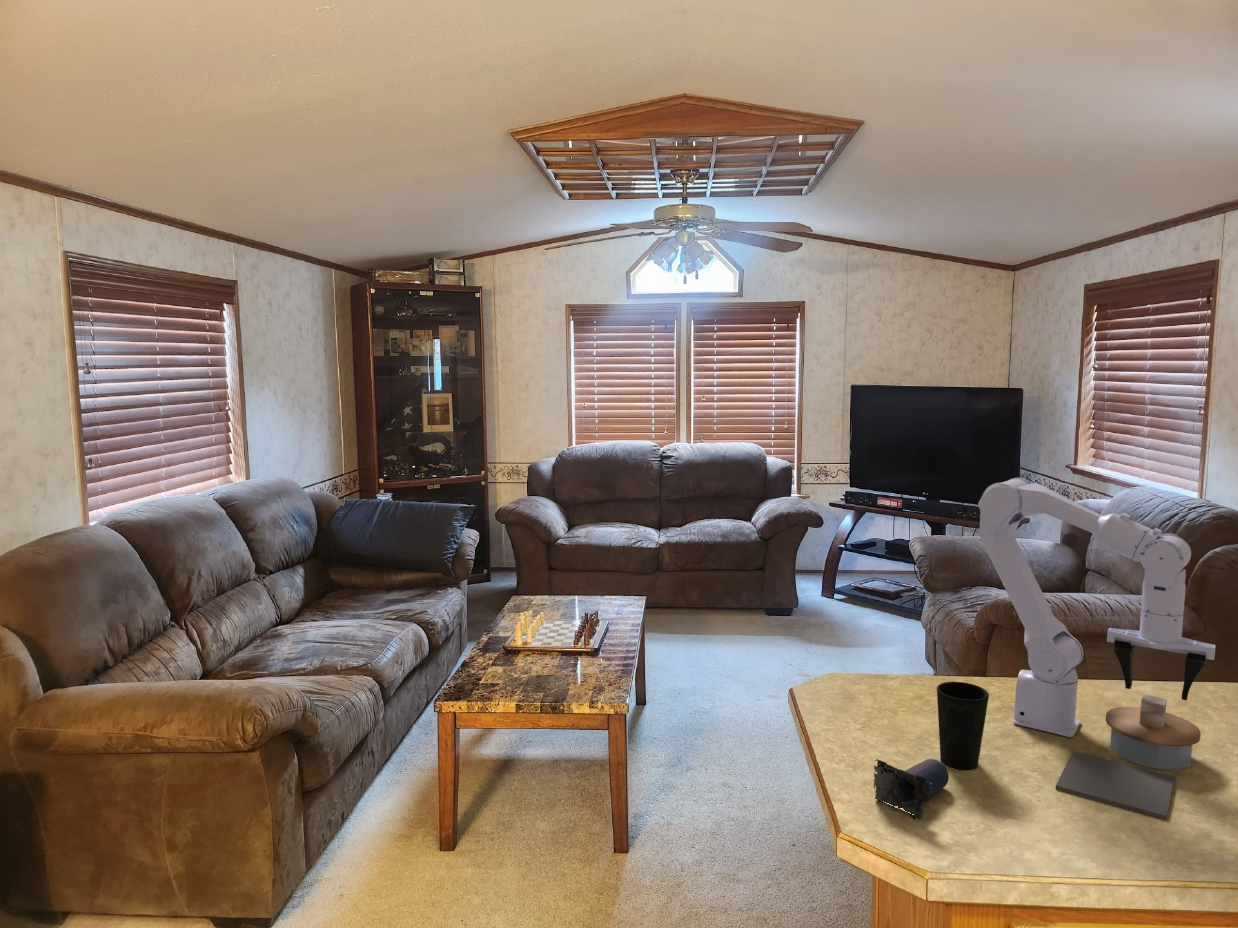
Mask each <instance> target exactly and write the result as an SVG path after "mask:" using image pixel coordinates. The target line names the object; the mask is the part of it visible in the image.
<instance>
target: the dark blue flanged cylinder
mask: <svg viewBox="0 0 1238 928" xmlns="http://www.w3.org/2000/svg"><path fill="white" fill-rule="evenodd" d="M876 761H877V764H876V765H874V766H873V770H874V773H873V786H874V787H873V786H872V787H873V789H875V791H874V793H875V795H874V796H875V797H874V799H875V800H876V799H877V800H878V801H879V800H880V802H881V801H884V802H886V803H889V804H891V805H893V806H892V807H891V809H892V808H893V809H895V810H896V811H897V808H895V807H894V806H898V808H903V809H904V810H905V811H907V812H910V813H911V814H910V813H907V815H908V814H909V815H910V816H911V817H913V819H914V820H915V819H918V820H919V819H920V818H921V819H920V820H922V819H923V816H924V808H926V804H927V803H929V802H930V800H931V796H932V795H933V794H935V793H937V792H938V791H940V790H942V789H944V788H945V787H946V786H947V785H948V782H949V775H950V774H949V771H948V769H947V766H946V765H944V764H943V763H942V762H941V760H937V759H935V758H927V759H925V760H923V761H921V762H919V763H917V764H916V765H915V764H914V765H913V766H911V767H909V768H908V769H906V770H904V769H899V768H898V767H895V766H892V765H891V764H888V763H887V762H886V761H884V760H881V759H878V758H877V759H875V760H873V762H876ZM884 802H883V803H884ZM895 810H894V811H895ZM912 814H914V815H912ZM909 815H908V816H909ZM910 816H909V817H910ZM919 817H920V818H919Z"/></svg>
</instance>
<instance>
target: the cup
mask: <svg viewBox="0 0 1238 928" xmlns="http://www.w3.org/2000/svg"><path fill="white" fill-rule="evenodd" d="M936 696H937V697H936V699H937V701H936V702H937V718H938V720H937V721H938V734H939V735H938V737H939V738H938V739H939V753H940V757H939V758H940V762H941V763H942V764H943V765H945V767H946V768H949V769H952V768H953V770H957V771H963V772H964V771H965V772H967V771H973V770H976V769H977V768H978V767H979V760H980V754H981V747H982V741H983V735H984V730H985V729H984V728H985V723H986V715H987V710H988V703H989V697H990V694H989V692H988V691H987V690H986V689H984V688H983V687H982V686H979V685H976V684H973V683H969V682H964V681H945V682H942V683H939V684H938V685H937V686H936Z"/></svg>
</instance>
